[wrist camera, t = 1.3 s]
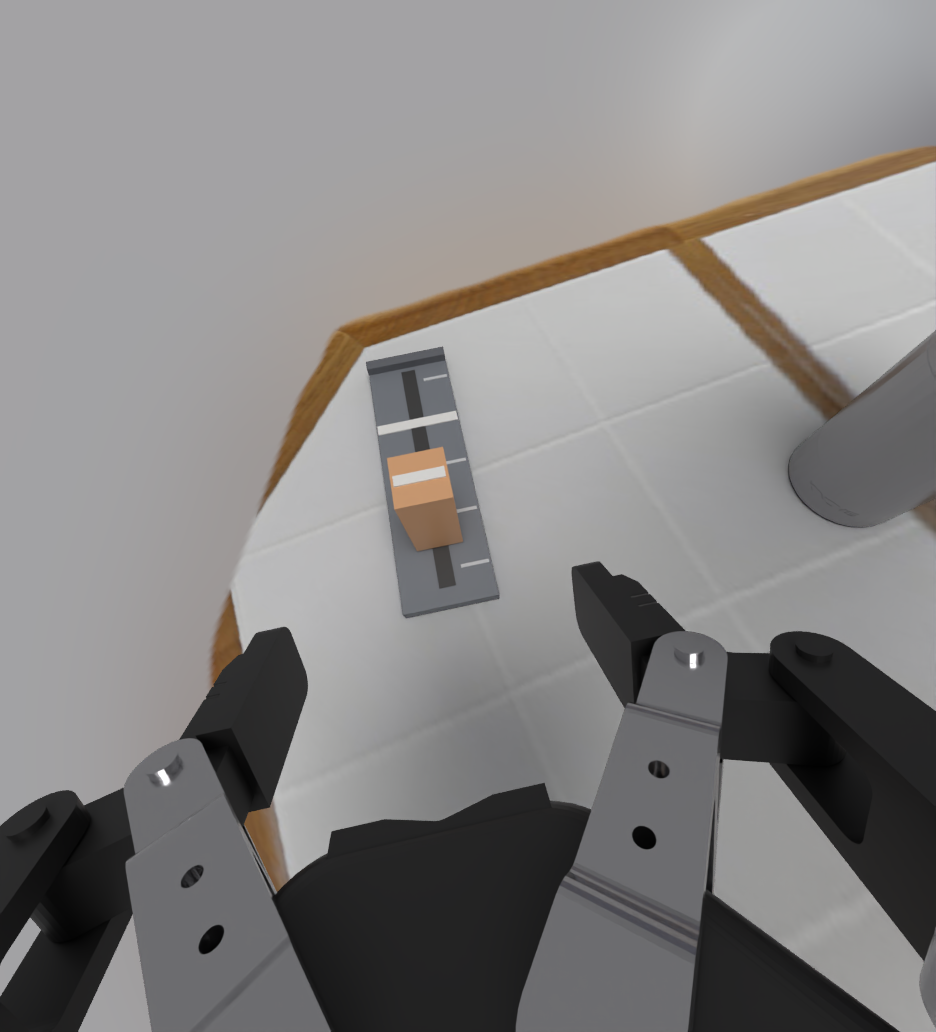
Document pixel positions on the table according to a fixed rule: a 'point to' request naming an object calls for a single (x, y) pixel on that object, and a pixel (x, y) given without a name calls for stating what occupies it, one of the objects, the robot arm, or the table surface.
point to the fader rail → (432, 424)
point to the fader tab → (425, 498)
